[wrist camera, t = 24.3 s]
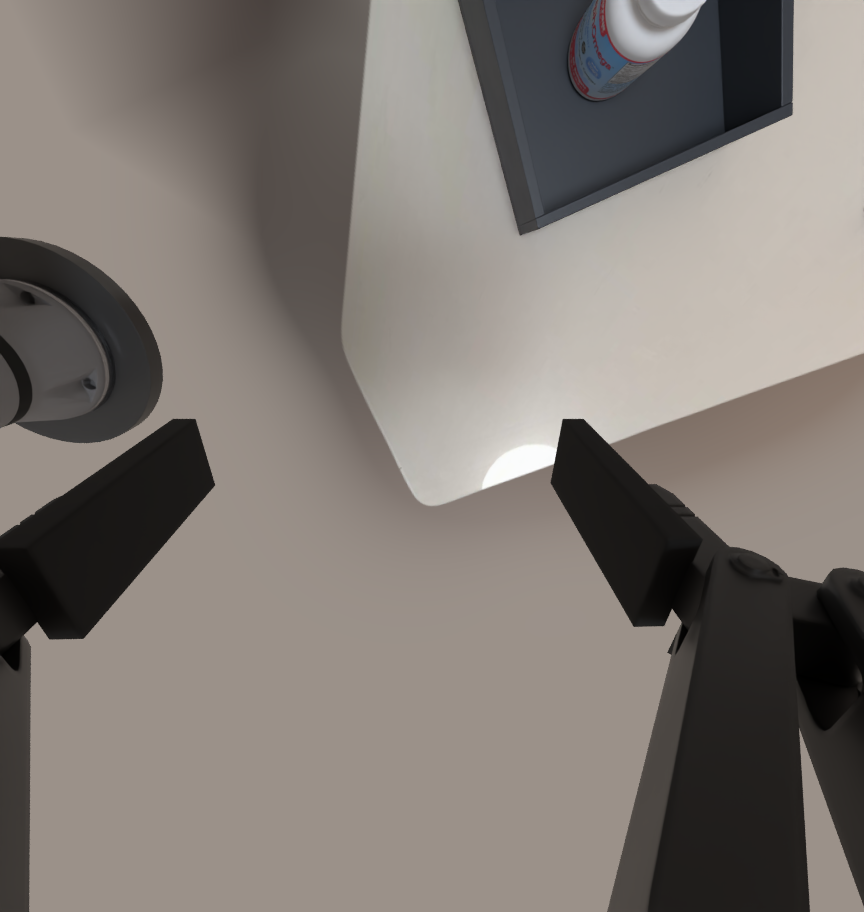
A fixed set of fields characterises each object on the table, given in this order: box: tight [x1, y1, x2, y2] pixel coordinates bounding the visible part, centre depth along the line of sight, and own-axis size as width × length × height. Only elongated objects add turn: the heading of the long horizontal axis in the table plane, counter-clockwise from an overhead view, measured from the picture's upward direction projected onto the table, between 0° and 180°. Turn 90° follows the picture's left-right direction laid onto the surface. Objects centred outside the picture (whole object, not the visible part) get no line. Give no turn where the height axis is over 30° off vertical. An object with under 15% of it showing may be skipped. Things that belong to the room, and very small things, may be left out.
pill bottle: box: [568, 0, 706, 101], centre depth 26 cm, size 6×6×11 cm
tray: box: [458, 0, 794, 235], centre depth 29 cm, size 20×20×7 cm
